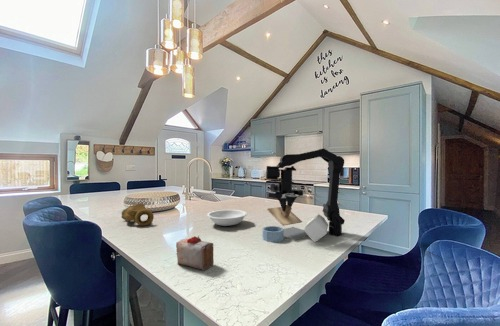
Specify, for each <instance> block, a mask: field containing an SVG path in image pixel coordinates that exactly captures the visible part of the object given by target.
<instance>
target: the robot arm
mask: <svg viewBox="0 0 500 326" xmlns="http://www.w3.org/2000/svg"><path fill="white" fill-rule="evenodd" d="M317 158H321V159H323V161H324V162H326V163H327V166H328V171H329V183H328V194H327V201H326V203H323V204H322V212H323V216H324V218H326V219H327V221H329V222H328V231H327V233H326V235H331V236H334V237H340V236H344V235H345V233H343V225H344V224H345V219H344V218H343V217H342V216H341V213H340V207H339V204H338V199H339V186H340V176H341V174H342V171H343V169H344V166H345V159H344V157H343V156H341V155H336V154H335V153H333V152H331V151H328V150H327V149H326V148H320V149H316V150H311V151H306V152H303V153H296V154H295V153H294V154H293V153H292V154H291V153H289V154H287V153H286V154H284V155H282V156H281V157H280V158H279V162H278V164H276V166H275V165H274V166H270V165H266V169H265V179H266V180H274V181H275V180H278V179H280V181H278V184H275V183H271V184H270V188H269V189H270V191H269V192H268V198H271V199H272V198H273V199H277V200H278V202H279V204H280V207H282V210H283V211H285V208H286V205H289V206H290V207H291V208H292V206H293V205H294V203H295V200H296V199H298V197H300V196H304V191H303V190H302V189H298V188H297V189H295V188H293V185H294V184H295V182H294V181H293V172H294V171H295V172H296V171H297V168H295V167H294V165H295V164H297V163H300V162H302V161H307V160H308V161H309V160H311V159H317ZM296 195H297V196H296Z"/></svg>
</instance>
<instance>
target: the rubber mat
mask: <svg viewBox="0 0 500 326" xmlns="http://www.w3.org/2000/svg"><path fill="white" fill-rule="evenodd" d="M283 229H284V238H286V239H288V240H292V241H297V240H300V239H304V238H308V237H309V236H308V235H307V233H306V232H305V231H304V229H301V228H298V227H295V226H290V227H287V228H283Z"/></svg>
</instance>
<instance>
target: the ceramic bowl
mask: <svg viewBox="0 0 500 326" xmlns="http://www.w3.org/2000/svg"><path fill="white" fill-rule="evenodd" d="M284 229H285V228H283V227H281V226H277V225H269V226H268V225H267V226H264V227H262V236H261V237H262V240H263V241H265V242H269V243H280V242H282V241H284V238H285V237H284Z"/></svg>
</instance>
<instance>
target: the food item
mask: <svg viewBox="0 0 500 326" xmlns="http://www.w3.org/2000/svg"><path fill="white" fill-rule="evenodd" d="M201 239H202V238H200V235H198V236H191V238H182V239H180V240H178V241H177V242H176V245H175V246H176V247H175V248H176V254H175V255H176V258H177V265H182V266H187V267H190V268H195V269H199V270H202V271H207V270H208V269H209V268H210V267H212V266H213V265H214V243H213V242H209V241H204V240H201Z"/></svg>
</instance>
